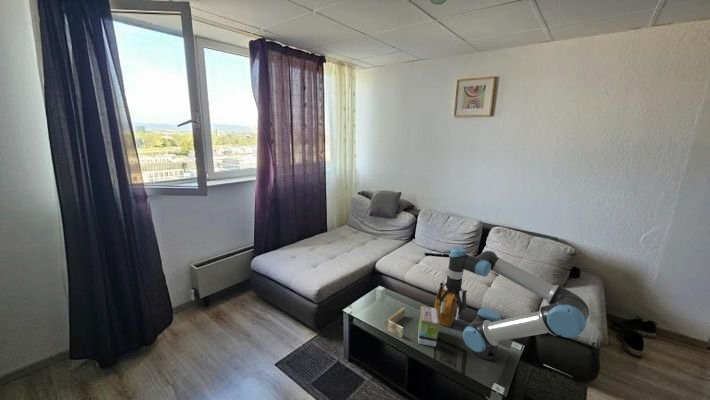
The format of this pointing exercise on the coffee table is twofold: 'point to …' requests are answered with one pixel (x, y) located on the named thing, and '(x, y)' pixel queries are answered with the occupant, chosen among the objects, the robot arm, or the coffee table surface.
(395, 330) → the birch corner fence
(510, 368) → the coffee table surface
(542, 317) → the robot arm
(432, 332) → the tea box
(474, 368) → the coffee table surface
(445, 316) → the coffee package
